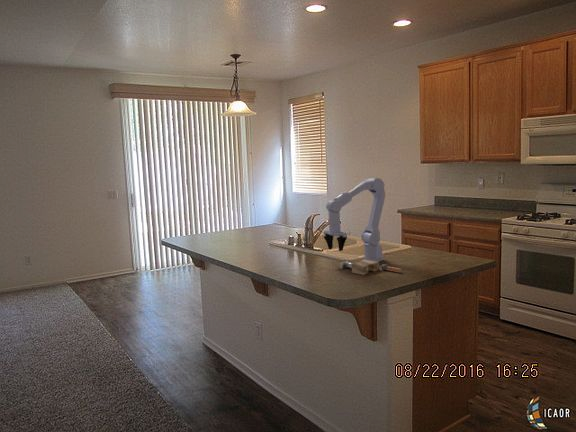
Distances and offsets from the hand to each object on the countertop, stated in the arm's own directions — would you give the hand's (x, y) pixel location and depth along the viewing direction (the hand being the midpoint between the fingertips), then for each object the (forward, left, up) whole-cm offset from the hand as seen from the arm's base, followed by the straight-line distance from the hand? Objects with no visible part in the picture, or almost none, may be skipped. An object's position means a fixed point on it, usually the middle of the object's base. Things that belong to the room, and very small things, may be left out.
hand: (335, 249), depth 247 cm
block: (0, +20, -8) cm, 21 cm away
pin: (0, +10, -8) cm, 13 cm away
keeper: (-7, +30, -8) cm, 31 cm away
